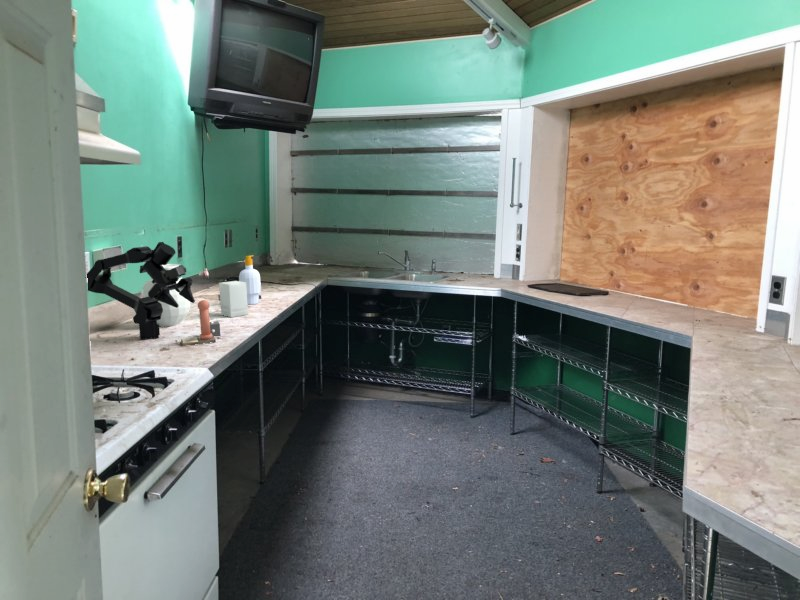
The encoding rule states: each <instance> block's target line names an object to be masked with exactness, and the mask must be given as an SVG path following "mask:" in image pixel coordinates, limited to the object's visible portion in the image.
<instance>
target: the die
mask: <svg viewBox="0 0 800 600" xmlns="http://www.w3.org/2000/svg"><path fill="white" fill-rule="evenodd" d="M210 333H212V336H220V337H221V325H220V322H219V321H218V320H217V321H210Z"/></svg>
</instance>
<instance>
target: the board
mask: <svg viewBox="0 0 800 600" xmlns="http://www.w3.org/2000/svg"><path fill="white" fill-rule="evenodd" d="M212 337H213V338H212V339H208V340H201V339H200V336H198V337H187V338H181V339H180V343H181V342H182V343H181V345H183V346H182V347H187V346H186V345H191V346H196V345H195V344H199V345H204V344H203V343H208V344H211V343H210V342H216V343H217V341H216V337H214V336H212Z"/></svg>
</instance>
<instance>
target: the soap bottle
mask: <svg viewBox="0 0 800 600" xmlns="http://www.w3.org/2000/svg"><path fill="white" fill-rule="evenodd" d="M254 256H255V255H246V256H245V259H244V267H245V269H242V270H241V271H240V272H239V274H238V275H239V276H238V281H240V282H246V288H247V304H248V306H253V305H258V304H259V303H260V297H259V296H260V295H259V294H260V293H261V292H262V285H261V284H262V283H261V275H260V272H259V270H257V269H255V268H254V267H253V266H254V264H253V258H252V257H254Z"/></svg>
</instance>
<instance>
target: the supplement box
mask: <svg viewBox="0 0 800 600" xmlns="http://www.w3.org/2000/svg"><path fill="white" fill-rule="evenodd" d="M218 287H219V299H220V300H219V301H220V303H219V304H220V314H221V316H223V315H224V317H227V316H228V317H227V318H237V317H241V316H247V315H249V308H248V306H249V305H248V304H247V288H246V282H240V281H239V280H231V281H223V282H218Z"/></svg>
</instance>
